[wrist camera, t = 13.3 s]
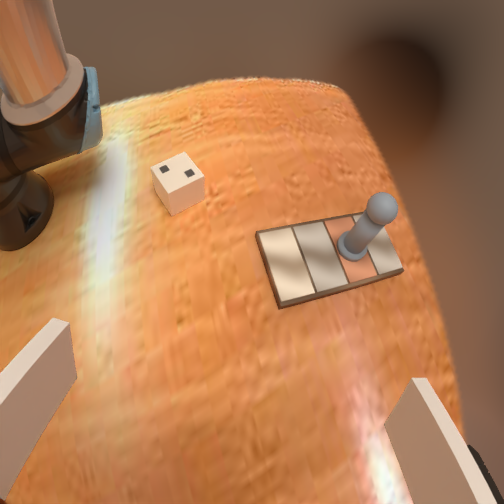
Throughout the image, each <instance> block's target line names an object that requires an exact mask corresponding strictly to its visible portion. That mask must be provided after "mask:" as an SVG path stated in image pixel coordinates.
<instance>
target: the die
mask: <svg viewBox="0 0 504 504" xmlns="http://www.w3.org/2000/svg"><path fill="white" fill-rule="evenodd" d="M150 168H151V173H152V178H153V184H154V189H155V192H156V193H157V195H158V196H159V198H160V199H161V201H162V202H163V204H164V205H165V207H166V208H167V210H168V211H169V213H170V214H171V216H174V215H176V214H178V213H179V212H181V211H183V210H185V209H187V208H189V207H191V206H193V205H195V204H197V203H199V202H201V201H203V200H204V175H203V174H202V172H201V171H200V170H199V169H198V167H197V166H196V165H195V164H194V162H193V161H192V160H191V159H190V157H189V156H188V155H187V154H186V152H183V153H180V154H178V155H176V156H174V157H171V158H169V159H167V160H165V161H163V162H161V163H158V164H156V165H154V166H152V167H150Z"/></svg>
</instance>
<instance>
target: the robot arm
mask: <svg viewBox="0 0 504 504" xmlns="http://www.w3.org/2000/svg"><path fill="white" fill-rule="evenodd" d="M0 88H1V89H2V91H3V95H2V98H1V102H0V249H1V250H4V251H12V250H17V249H19V248H22V247H24V246H26V245H27V244H29V243H30V242H31V241H33V240H34V239H35V238H36V237H37V236H38V235H39V234H40V232H41V231H42V230H43V229H44V227H45V226H46V224H47V222H48V220H49V218H50V216H51V213H52V209H53V203H54V198H53V193H52V190H51V188H50V187H49V185H48V183H47V181H46V180H45V179H44V178H43V177H42V176H40V175H39V174H37V173H36V172H34V171H33V169H36V168H39V167H41V166H44V165H47V164H49V163H52V162H55V161H58V160H60V159H63V158H66V157H69V156H72V155H75V154H80V153H82V152H83V151H84V150H87V149H89V148H92V147H95V146H96V145H98V144H99V143H100V141H101V139H102V136H103V130H102V119H101V110H100V101H99V89H98V80H97V72H96V69H95V68H94V67H83V66H82V64H81V62H80V60H79V59H78V58H76V57H74V56H73V55H71V54H66V52H65V49H64V45H63V42H62V38H61V34H60V30H59V27H58V23H57V19H56V15H55V11H54V6H53V2H52V0H0ZM76 379H77V373H76V367H75V361H74V354H73V347H72V339H71V331H70V323H69V322H66V321H62V320H59V319H56V318H52V319H51V320H50V321H49V322H48V323H47V324H46V325H45V326H44V327H43V328H42V329H41V330H40V331H39V332H38V333H37V334H36V335H35V336H34V337H33V339H32V340H31V341H30V342H29V343H28V344H27V345H26V346H25V347H24V348H23V349H22V350H21V351H20V352H19V353H18V354H17V355H16V356H15V358H14V359H13V360H12V361H11V362H10V363H9V364H8V365H7V366H6V367H5V369H4V370H3V371H2V372H1V373H0V498H1V499H3V500H4V501H5V499H6V497H7V495H8V493H9V492H10V490H11V488H12V486H13V484H14V482H15V480H16V478H17V477H18V475H19V473H20V471H21V469H22V467H23V466H24V464H25V462H26V460H27V459H28V457H29V455H30V453H31V452H32V450H33V448H34V446H35V445H36V443H37V441H38V440H39V438H40V436H41V435H42V433H43V431H44V430H45V428H46V426H47V425H48V423H49V421H50V420H51V418H52V417H53V415H54V413H55V412H56V410H57V408H58V407H59V405H60V404H61V402H62V401H63V399H64V397H65V396H66V394H67V393H68V391H69V390H70V388H71V387H72V385H73V383H74V382H75V380H76ZM384 426H385V428H386V431H387V433H388V436H389V439H390V441H391V444H392V446H393V449H394V451H395V454H396V457H397V459H398V462H399V465H400V467H401V470H402V473H403V475H404V478H405V481H406V484H407V486H408V489H409V492H410V495H411V497H412V500H413V503H414V504H504V500H503V498H502V496H501V494H500V492H499V490H498V488H497V486H496V484H495V482H494V481H493V479H492V477H491V475H490V473H488V469H487V468H486V466H485V465H484V462H483V461H482V459H481V457H480V455H479V453H478V452H477V451H476V450H475V449H474V448H473V447H471V446H470V445H466V444H465V442H464V440H463V438H462V437H461V435H460V433H459V431H458V430H457V428H456V426H455V425H454V423H453V421H452V419H451V418H450V416H449V414H448V413H447V411H446V409H445V408H444V406H443V404H442V403H441V401H440V400H439V398H438V396H437V395H436V393H435V392H434V390H433V388H432V387H431V385H430V384H429V382H428V380H427V379H426V378H411V380H410V381H409V383H408V385H407V387H406V389H405V390H404V392H403V394H402V396H401V397H400V399H399V401H398V402H397V404H396V406H395V407H394V409H393V411H392V412H391V414H390V415H389V417H388V419H387V420H386V422H385V423H384Z"/></svg>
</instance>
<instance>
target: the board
mask: <svg viewBox="0 0 504 504" xmlns="http://www.w3.org/2000/svg"><path fill="white" fill-rule="evenodd" d="M362 214H363V212H360V213H354V214H348V215H342V216H337V217H331V218H326V219H320V220H314V221H309V222H303V223H298V224H293V225H287V226H282V227H276V228H271V229H266V230H260V231H256V234H255V238H256V241H257V244H258V247H259V250H260V253H261V256H262V259H263V262H264V265H265V268H266V271H267V274H268V277H269V281H270V284H271V287H272V290H273V293H274V296H275V299H276V302H277V305H278V308H279V309H283V308H286V307H290V306H294V305H298V304H301V303H305V302H309V301H312V300H316V299H319V298H323V297H327V296H330V295H334V294H337V293H341V292H344V291H347V290H351V289H354V288H357V287H361V286H364V285H367V284H371V283H374V282H377V281H380V280H384V279H387V278H390V277H393V276H396V275H399V274H401V273H402V272H403V271H404V269H403V267H402V264H401V262H400V260H399V258H398V255H397V253H396V251H395V249H394V247H393V245H392V243H391V240H390V238H389V236H388V234H387V232H386V230H385V228H384V227H383V228H382V229H381V231H380V232H379V233H378V234H377V235H376V236H375V237H374V239H373V240H372V241H371V242H370V243H369V244H368V245H367V246H368V249H367V253H366V254H365V255H364V256H363V257H362V259H360V260H359V261H356V262H351V261H348V260H346V259H344V258H343V257H342V256H341V255H340V254H339V252H338V250H337V241H338V239H339V237H340V236H341V235H342V234H343V233H344V232H346V231H350V230H351V229H352V227H353V226H354V225H355V223H356V222H357V221H358V219H359V218H360V217H361V215H362Z"/></svg>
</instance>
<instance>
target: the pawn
mask: <svg viewBox="0 0 504 504" xmlns="http://www.w3.org/2000/svg"><path fill="white" fill-rule="evenodd" d="M397 213H398V205H397V202H396V200H395V199H394V197H393V196H391V195H390V194H388V193H385V192H379V193H376V194H374V195H373V196H371V198H370V199H369V200H368V203H367V208H366V210H365V211H364V212H363V214H362V215H361V217H360V218H359V219H358V221H357V222H356V223H355V225H354V226H353V227H352V229H351V230H350V231H346V232H344V233H343V234H342V235H341V236H340V237H339V239H338V241H337V250H338V252H339V254H340V255H341V256H342V257H343V258H344V259H346V260H348V261H351V262H356V261H359V260H360V259H362V257H363V256H364V255H365V254H366V253H367V249H368V246H367V245H368V244H369V243H370V242H371V241H372V240H373V239H374V237H375V236H376V235H377V234H378V233H379V232H380V231H381V229H382V228H383V227H384V226H385V225H386V224H389V223H391V222H392V221H393V220H394V219H395V218H396V216H397Z"/></svg>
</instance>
